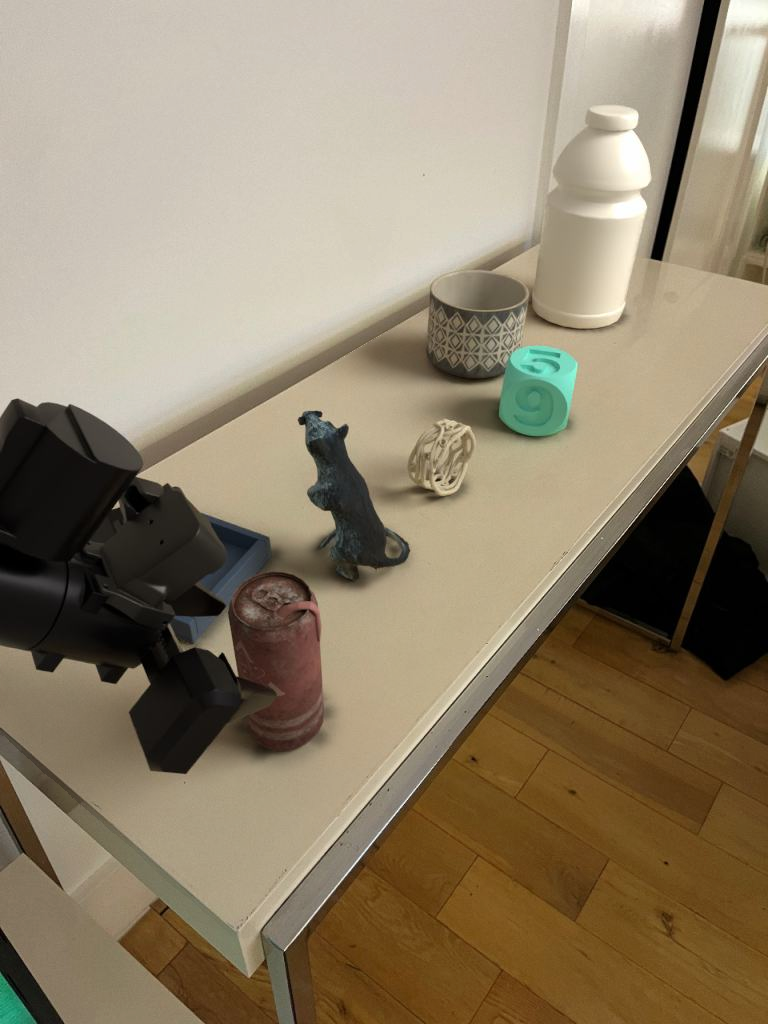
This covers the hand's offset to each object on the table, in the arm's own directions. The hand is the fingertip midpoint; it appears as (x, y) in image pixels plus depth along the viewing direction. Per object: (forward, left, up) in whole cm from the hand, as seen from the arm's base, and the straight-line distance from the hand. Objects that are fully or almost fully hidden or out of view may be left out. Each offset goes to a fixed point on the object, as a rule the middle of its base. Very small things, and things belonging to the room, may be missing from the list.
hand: (245, 651), depth 54 cm
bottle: (+78, +35, -10) cm, 86 cm away
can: (+2, 0, -10) cm, 10 cm away
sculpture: (+18, +12, -10) cm, 24 cm away
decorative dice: (+50, +18, -10) cm, 54 cm away
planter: (+54, +33, -10) cm, 64 cm away
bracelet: (+32, +15, -10) cm, 37 cm away
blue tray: (+3, +20, -10) cm, 22 cm away
